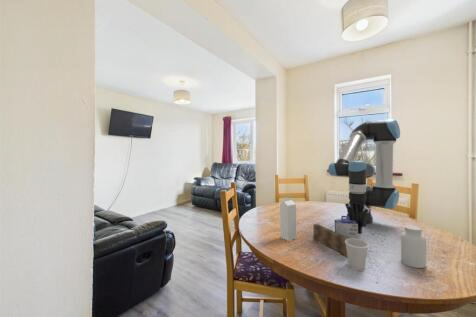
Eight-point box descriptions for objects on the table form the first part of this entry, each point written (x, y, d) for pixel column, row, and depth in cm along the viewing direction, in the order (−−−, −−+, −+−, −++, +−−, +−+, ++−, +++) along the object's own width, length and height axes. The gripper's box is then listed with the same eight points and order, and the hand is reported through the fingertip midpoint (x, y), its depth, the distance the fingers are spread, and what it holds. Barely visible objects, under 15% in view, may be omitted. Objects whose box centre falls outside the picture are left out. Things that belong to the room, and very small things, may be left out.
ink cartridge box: (355, 244, 106) (355, 215, 106) (358, 249, 101) (358, 219, 100) (334, 242, 109) (334, 214, 109) (336, 247, 104) (335, 217, 103)
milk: (296, 239, 115) (296, 198, 114) (287, 241, 112) (287, 199, 111) (288, 235, 120) (288, 196, 119) (280, 237, 117) (279, 197, 116)
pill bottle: (396, 259, 91) (396, 224, 91) (413, 258, 92) (413, 223, 92) (412, 269, 84) (413, 231, 83) (431, 268, 84) (432, 230, 84)
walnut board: (313, 239, 114) (313, 224, 114) (317, 238, 115) (317, 223, 114) (347, 258, 93) (346, 240, 93) (351, 257, 94) (351, 239, 94)
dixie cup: (359, 260, 91) (358, 237, 91) (373, 271, 83) (373, 246, 82) (340, 262, 90) (340, 238, 90) (353, 273, 82) (353, 247, 81)
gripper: (340, 190, 111) (341, 235, 112) (363, 195, 98) (363, 245, 99) (352, 189, 113) (352, 233, 114) (375, 193, 101) (375, 243, 102)
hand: (357, 239), depth 107 cm, fingers closed
